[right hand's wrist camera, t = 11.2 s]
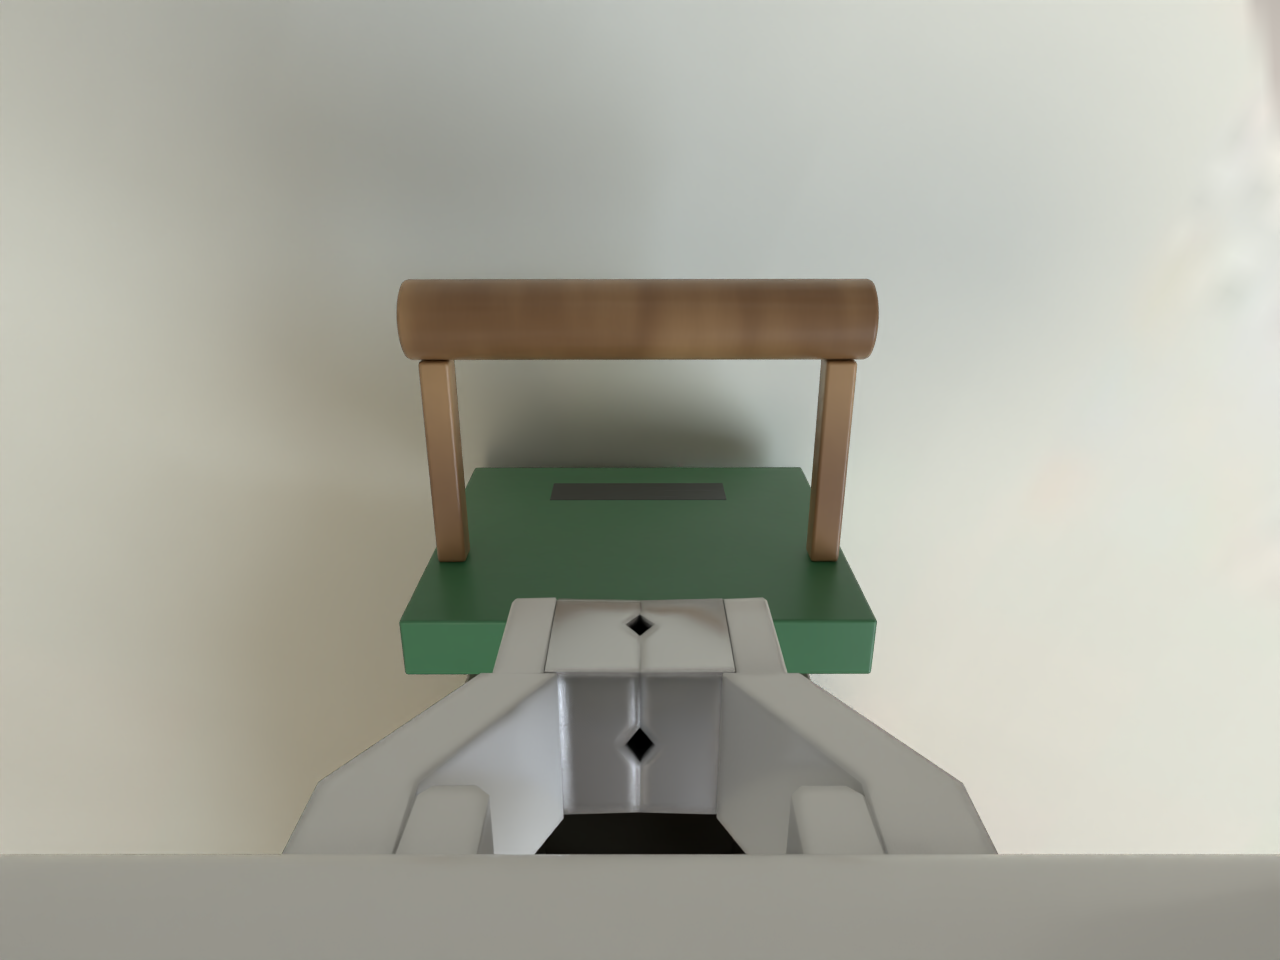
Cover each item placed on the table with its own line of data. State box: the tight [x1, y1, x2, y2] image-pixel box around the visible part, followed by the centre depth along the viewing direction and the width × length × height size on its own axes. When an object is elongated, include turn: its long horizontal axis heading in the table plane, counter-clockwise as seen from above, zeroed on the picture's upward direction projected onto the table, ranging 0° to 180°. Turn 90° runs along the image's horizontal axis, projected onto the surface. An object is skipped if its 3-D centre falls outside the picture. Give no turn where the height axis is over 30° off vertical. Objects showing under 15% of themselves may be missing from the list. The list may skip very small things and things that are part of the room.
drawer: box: [397, 279, 879, 854], centre depth 21 cm, size 22×9×8 cm, turn 0°
